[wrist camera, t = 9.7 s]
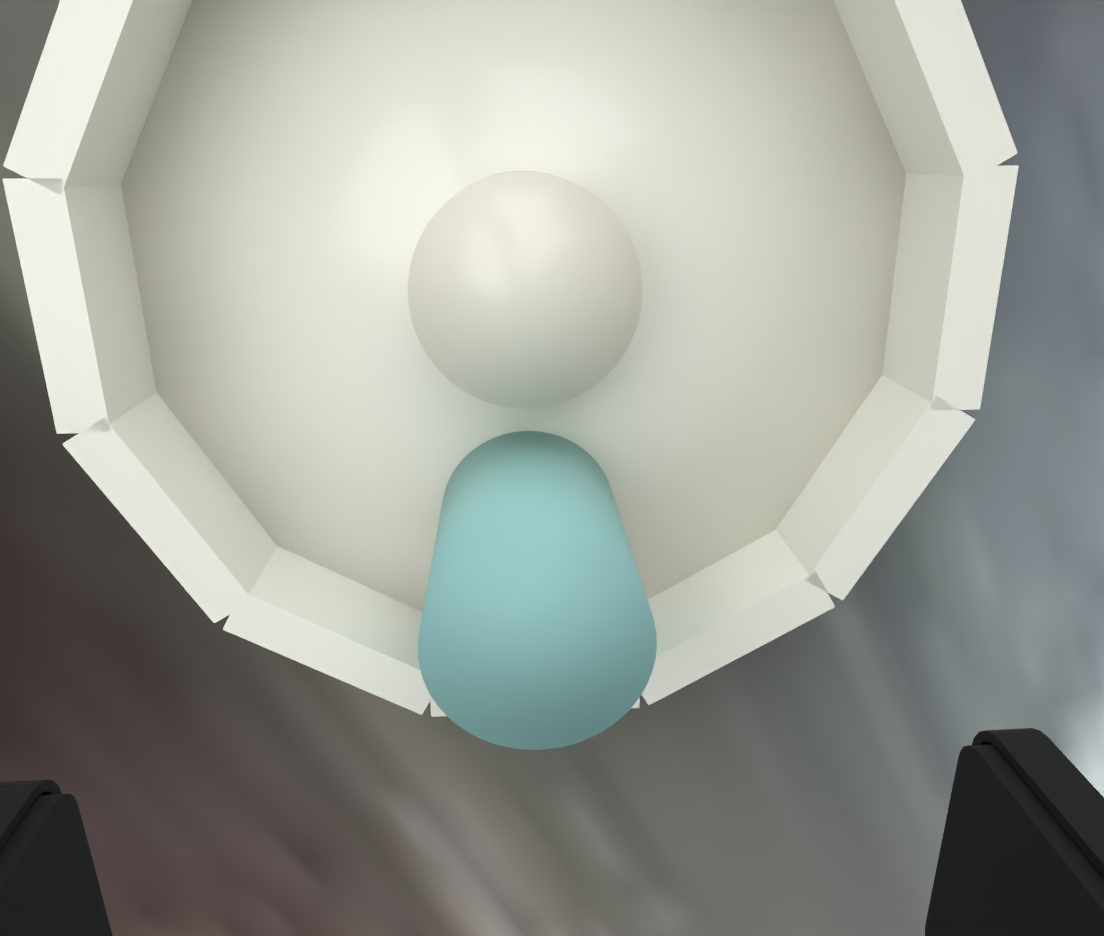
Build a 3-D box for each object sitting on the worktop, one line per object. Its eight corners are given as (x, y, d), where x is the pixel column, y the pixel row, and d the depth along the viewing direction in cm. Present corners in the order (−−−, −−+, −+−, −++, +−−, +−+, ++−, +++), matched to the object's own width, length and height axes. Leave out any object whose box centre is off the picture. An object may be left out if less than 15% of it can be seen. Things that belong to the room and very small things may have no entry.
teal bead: (437, 433, 19) (409, 545, 14) (615, 428, 20) (660, 536, 14) (446, 593, 21) (424, 755, 15) (612, 586, 21) (653, 744, 15)
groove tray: (16, -214, 16) (-101, -304, 13) (983, -207, 16) (1091, -290, 13) (173, 650, 22) (120, 729, 19) (876, 624, 22) (934, 695, 19)
